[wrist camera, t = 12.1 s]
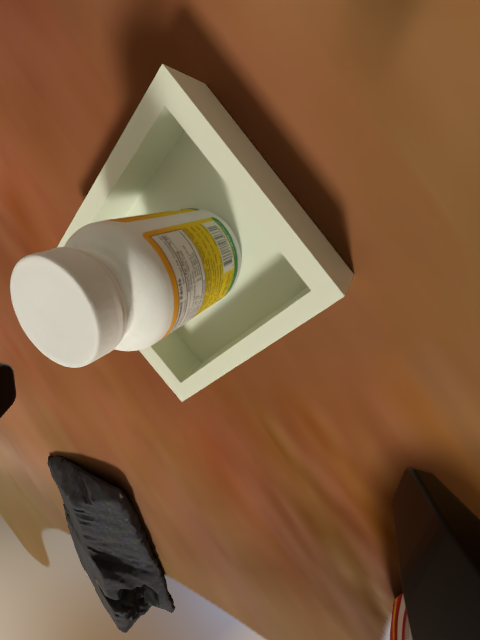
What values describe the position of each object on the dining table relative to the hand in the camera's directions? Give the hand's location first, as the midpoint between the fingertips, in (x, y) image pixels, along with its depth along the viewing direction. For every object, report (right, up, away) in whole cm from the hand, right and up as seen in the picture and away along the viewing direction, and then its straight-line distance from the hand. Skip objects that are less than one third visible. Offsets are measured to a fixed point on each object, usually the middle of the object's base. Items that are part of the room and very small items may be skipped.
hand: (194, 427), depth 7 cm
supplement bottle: (-1, +6, +12) cm, 13 cm away
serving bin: (-1, +6, +12) cm, 14 cm away
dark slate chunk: (-14, -23, +33) cm, 42 cm away
